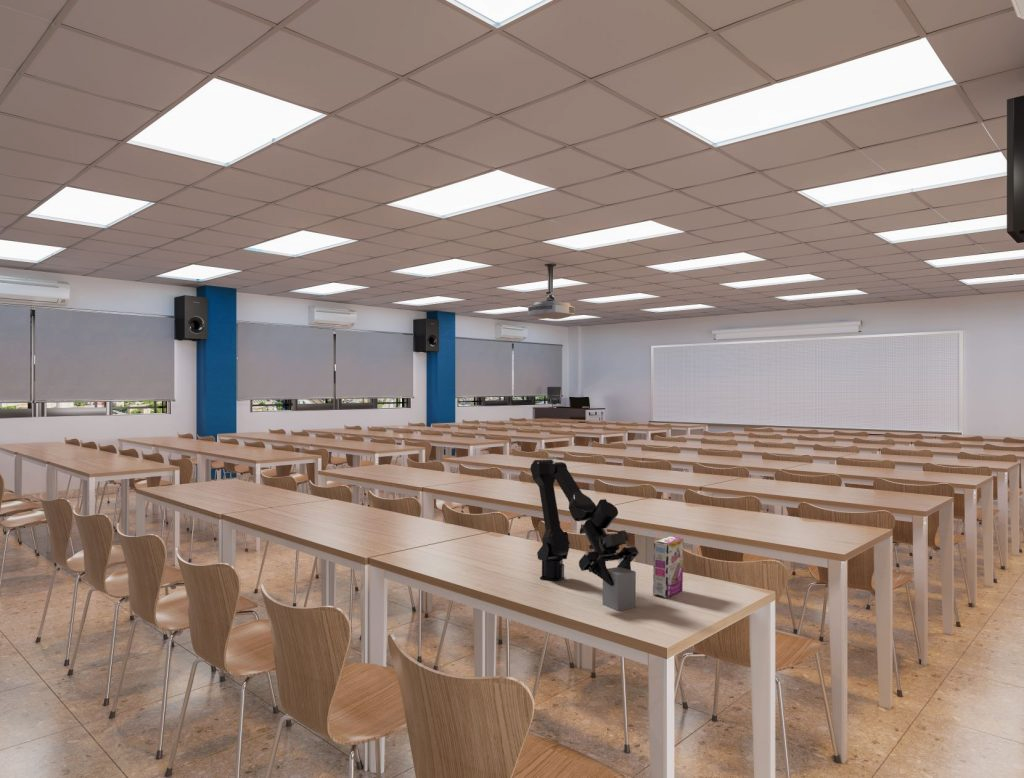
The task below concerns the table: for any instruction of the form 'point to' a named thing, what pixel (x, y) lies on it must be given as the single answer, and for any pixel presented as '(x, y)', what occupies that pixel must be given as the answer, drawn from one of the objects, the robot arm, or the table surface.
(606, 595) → the grey upright block
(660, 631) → the table surface
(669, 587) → the candy bar box
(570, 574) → the table surface
